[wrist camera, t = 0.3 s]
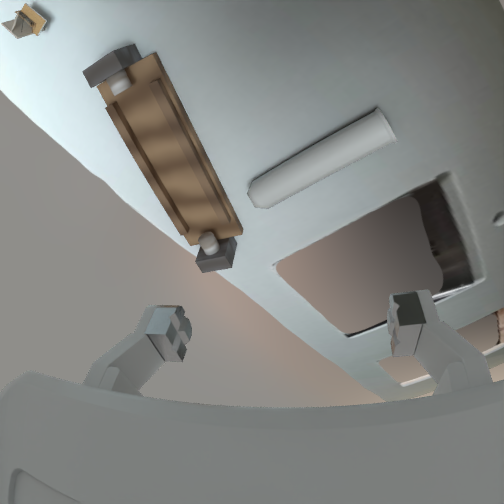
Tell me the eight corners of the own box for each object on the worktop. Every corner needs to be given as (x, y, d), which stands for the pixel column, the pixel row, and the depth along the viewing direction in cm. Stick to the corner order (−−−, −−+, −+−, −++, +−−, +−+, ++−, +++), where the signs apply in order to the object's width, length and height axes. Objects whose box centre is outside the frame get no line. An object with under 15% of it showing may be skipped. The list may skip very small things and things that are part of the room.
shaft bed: (93, 69, 39) (70, 80, 35) (148, 36, 36) (128, 41, 31) (199, 251, 65) (191, 275, 60) (249, 241, 61) (244, 265, 56)
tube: (263, 219, 53) (401, 147, 40) (242, 205, 49) (389, 123, 36) (260, 195, 55) (387, 125, 43) (240, 180, 52) (374, 102, 39)
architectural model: (38, 0, 29) (9, 6, 24) (59, 17, 33) (30, 24, 27) (29, 15, 31) (0, 23, 26) (49, 33, 34) (21, 42, 29)
